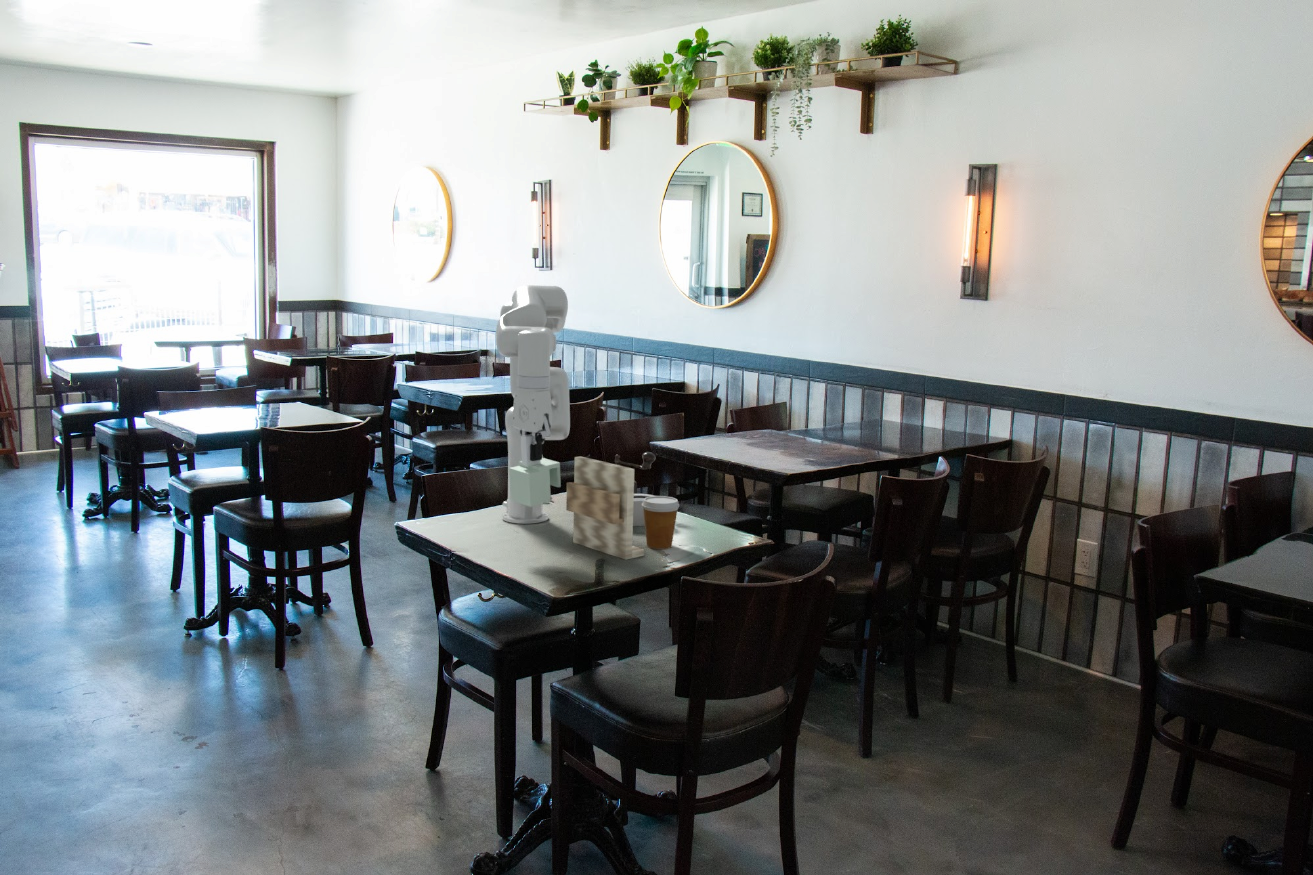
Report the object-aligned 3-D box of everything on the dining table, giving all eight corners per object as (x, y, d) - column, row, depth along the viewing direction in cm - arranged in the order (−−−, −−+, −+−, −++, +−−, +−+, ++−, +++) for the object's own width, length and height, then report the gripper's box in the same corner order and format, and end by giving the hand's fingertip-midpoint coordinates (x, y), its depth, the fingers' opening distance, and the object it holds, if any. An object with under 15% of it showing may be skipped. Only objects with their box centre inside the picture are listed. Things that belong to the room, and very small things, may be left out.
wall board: (563, 544, 261) (564, 458, 258) (591, 538, 268) (592, 454, 264) (615, 561, 247) (618, 471, 243) (644, 555, 253) (646, 467, 250)
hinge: (664, 521, 288) (667, 490, 283) (666, 530, 284) (670, 500, 279) (604, 521, 286) (606, 490, 281) (606, 531, 281) (608, 500, 277)
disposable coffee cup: (651, 552, 256) (652, 505, 254) (634, 543, 264) (635, 497, 262) (684, 548, 260) (686, 502, 258) (667, 539, 269) (668, 494, 267)
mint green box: (510, 500, 250) (507, 435, 246) (541, 492, 256) (538, 429, 252) (530, 506, 244) (527, 440, 241) (561, 498, 250) (558, 434, 247)
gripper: (500, 380, 247) (500, 455, 251) (541, 388, 236) (540, 467, 239) (526, 377, 252) (525, 451, 256) (567, 385, 241) (565, 463, 244)
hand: (532, 458), depth 247 cm, fingers closed on mint green box
